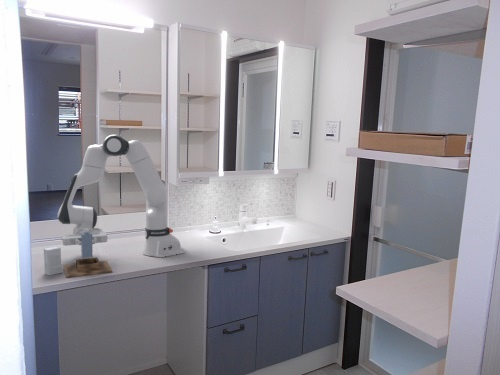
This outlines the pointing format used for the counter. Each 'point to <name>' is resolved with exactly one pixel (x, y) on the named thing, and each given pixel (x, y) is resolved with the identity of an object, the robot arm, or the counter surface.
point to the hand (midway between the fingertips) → (86, 243)
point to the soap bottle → (86, 243)
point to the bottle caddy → (87, 267)
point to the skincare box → (52, 260)
